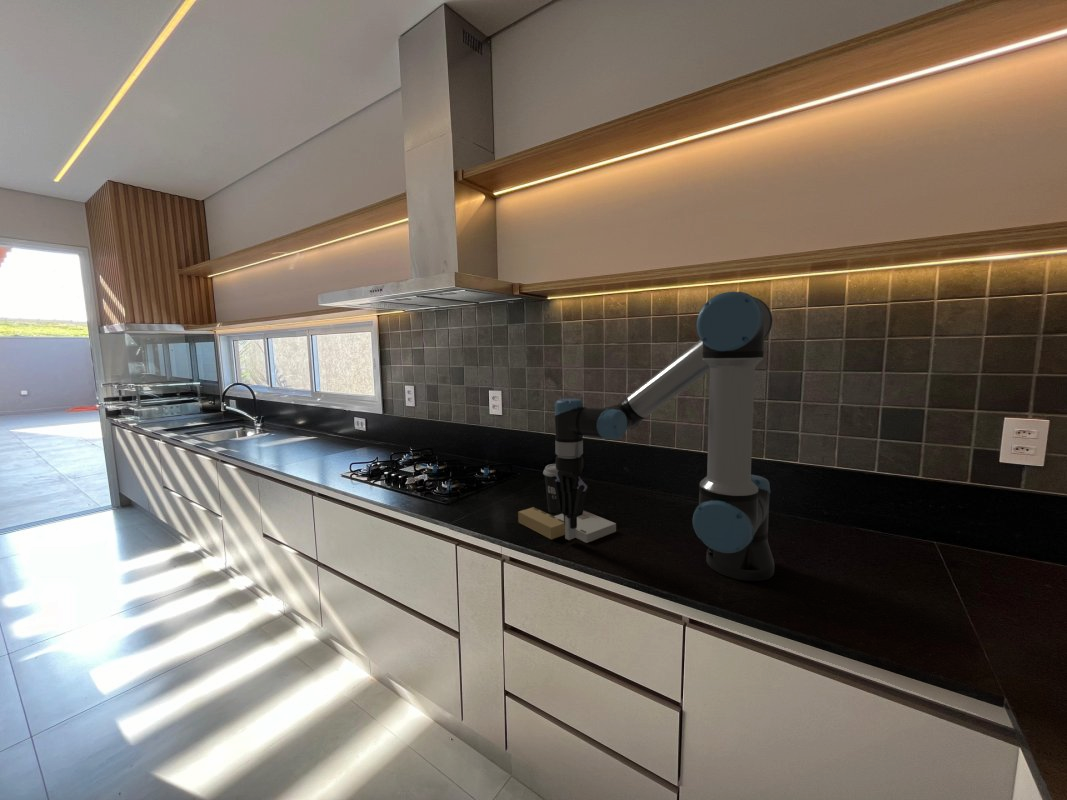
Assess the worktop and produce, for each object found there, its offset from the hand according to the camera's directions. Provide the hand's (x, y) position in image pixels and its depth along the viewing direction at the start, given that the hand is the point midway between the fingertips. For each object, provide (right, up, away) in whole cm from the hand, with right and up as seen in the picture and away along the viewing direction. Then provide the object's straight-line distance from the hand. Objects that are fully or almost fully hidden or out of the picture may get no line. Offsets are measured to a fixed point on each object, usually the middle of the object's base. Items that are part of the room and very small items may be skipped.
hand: (570, 537), depth 122 cm
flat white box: (+4, 0, +10) cm, 11 cm away
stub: (-8, 0, +10) cm, 13 cm away
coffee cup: (-2, +1, +25) cm, 25 cm away
